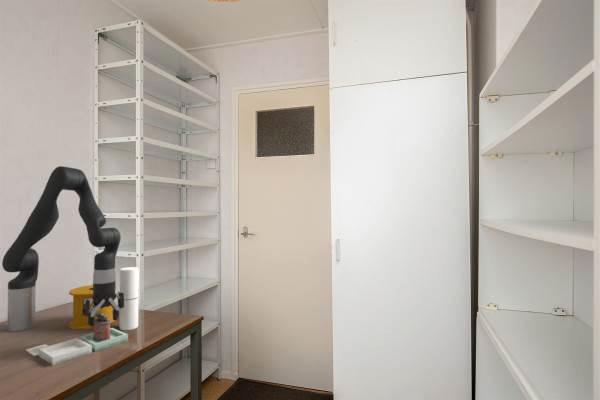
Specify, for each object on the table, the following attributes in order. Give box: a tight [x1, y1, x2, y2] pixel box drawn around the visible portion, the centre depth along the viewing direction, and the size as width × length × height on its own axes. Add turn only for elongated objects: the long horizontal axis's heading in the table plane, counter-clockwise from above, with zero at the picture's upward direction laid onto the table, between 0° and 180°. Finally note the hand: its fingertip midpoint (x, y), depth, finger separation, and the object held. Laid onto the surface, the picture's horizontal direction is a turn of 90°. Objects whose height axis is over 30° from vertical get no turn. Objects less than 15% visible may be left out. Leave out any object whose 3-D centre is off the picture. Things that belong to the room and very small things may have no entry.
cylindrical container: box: [119, 266, 140, 331], centre depth 148 cm, size 7×7×25 cm
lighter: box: [93, 313, 112, 342], centre depth 132 cm, size 8×3×10 cm, turn 63°
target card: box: [25, 343, 49, 357], centre depth 125 cm, size 8×6×1 cm
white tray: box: [38, 337, 93, 366], centre depth 122 cm, size 12×12×2 cm
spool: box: [68, 284, 117, 330], centre depth 154 cm, size 18×18×15 cm
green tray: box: [79, 327, 129, 352], centre depth 132 cm, size 12×12×2 cm
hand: (103, 322), depth 132 cm, fingers open, 8 cm apart
